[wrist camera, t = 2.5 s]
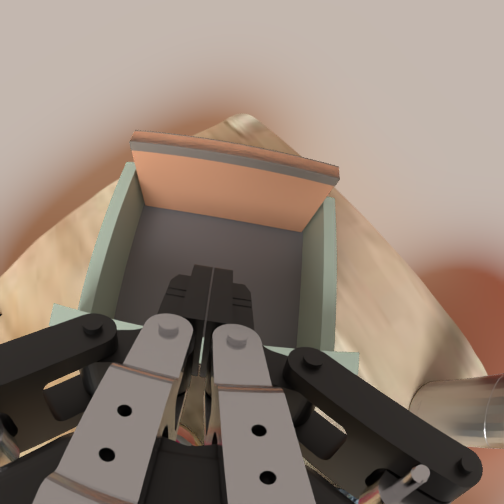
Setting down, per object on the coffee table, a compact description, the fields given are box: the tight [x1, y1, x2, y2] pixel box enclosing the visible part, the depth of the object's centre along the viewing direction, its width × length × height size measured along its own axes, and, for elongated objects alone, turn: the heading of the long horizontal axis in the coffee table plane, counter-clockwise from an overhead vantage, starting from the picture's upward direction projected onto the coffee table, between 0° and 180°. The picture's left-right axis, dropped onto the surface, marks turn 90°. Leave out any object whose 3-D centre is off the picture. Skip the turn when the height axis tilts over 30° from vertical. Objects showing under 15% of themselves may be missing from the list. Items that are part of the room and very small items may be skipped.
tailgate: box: [129, 130, 340, 232], centre depth 26 cm, size 1×17×10 cm, turn 84°
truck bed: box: [49, 162, 359, 375], centre depth 26 cm, size 16×20×16 cm
